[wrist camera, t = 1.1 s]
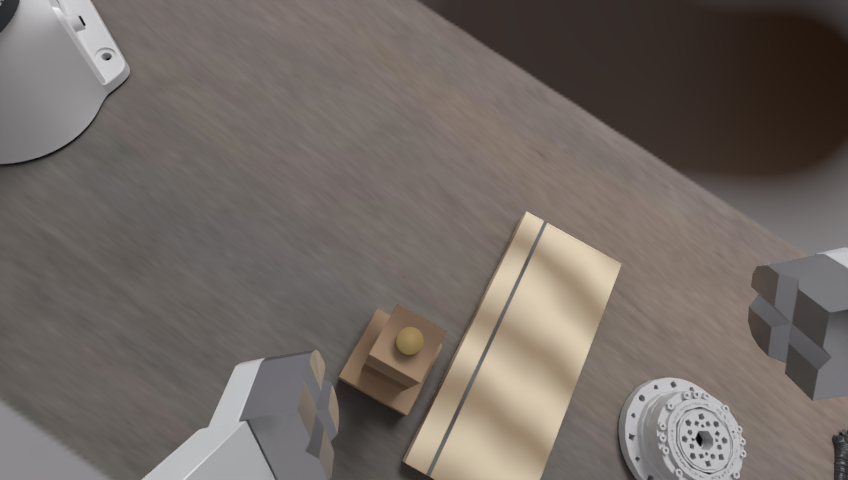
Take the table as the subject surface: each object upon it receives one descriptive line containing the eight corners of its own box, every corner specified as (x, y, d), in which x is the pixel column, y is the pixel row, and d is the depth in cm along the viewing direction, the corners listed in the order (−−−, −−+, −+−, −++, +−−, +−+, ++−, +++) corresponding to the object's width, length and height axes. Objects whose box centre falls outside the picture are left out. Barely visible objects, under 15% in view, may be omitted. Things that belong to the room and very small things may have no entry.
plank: (514, 524, 39) (521, 528, 38) (402, 461, 39) (404, 462, 38) (613, 268, 48) (622, 263, 47) (521, 217, 48) (526, 211, 47)
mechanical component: (622, 501, 41) (731, 504, 43) (653, 510, 37) (774, 512, 39) (611, 376, 45) (713, 382, 46) (639, 371, 41) (749, 378, 42)
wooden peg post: (403, 415, 41) (431, 412, 29) (338, 379, 41) (340, 361, 29) (437, 349, 43) (476, 321, 31) (375, 314, 43) (390, 273, 31)
